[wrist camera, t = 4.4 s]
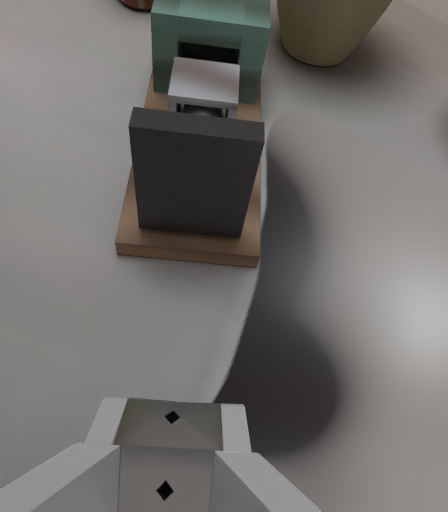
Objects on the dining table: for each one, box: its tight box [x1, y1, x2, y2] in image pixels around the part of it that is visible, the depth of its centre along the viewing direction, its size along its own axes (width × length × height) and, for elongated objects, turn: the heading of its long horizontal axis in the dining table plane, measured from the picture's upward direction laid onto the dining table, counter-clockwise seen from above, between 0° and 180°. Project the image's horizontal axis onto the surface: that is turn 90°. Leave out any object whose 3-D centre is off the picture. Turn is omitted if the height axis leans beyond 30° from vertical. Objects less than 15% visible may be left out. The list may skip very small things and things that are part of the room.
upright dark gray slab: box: [129, 104, 264, 239], centre depth 29 cm, size 14×7×9 cm, turn 177°
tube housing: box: [115, 0, 270, 267], centre depth 33 cm, size 23×10×8 cm, turn 177°
